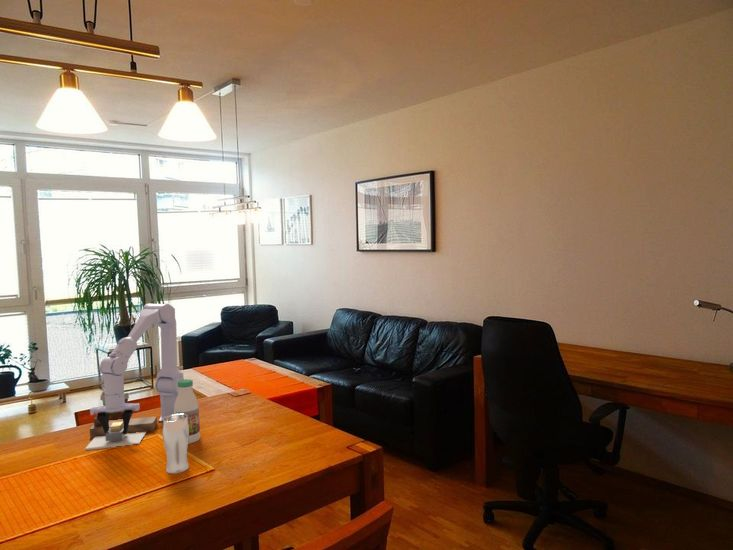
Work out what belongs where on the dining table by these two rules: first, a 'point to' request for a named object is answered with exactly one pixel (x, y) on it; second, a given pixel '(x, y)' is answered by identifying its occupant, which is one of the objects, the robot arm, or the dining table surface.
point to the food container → (114, 414)
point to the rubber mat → (115, 441)
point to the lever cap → (115, 432)
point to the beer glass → (176, 442)
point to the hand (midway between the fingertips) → (116, 433)
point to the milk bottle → (188, 408)
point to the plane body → (133, 427)
